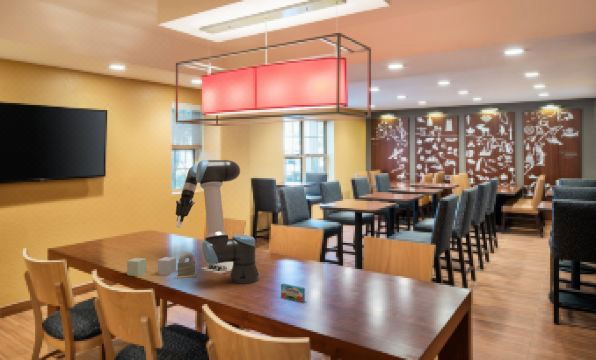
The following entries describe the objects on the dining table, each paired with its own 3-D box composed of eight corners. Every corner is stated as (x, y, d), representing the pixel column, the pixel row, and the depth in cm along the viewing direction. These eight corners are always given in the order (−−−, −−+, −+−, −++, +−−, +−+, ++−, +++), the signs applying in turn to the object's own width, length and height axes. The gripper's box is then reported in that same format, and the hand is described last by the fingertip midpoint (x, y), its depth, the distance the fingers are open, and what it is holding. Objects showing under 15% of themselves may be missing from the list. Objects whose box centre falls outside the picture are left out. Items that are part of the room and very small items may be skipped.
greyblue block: (176, 271, 229) (176, 257, 229) (168, 275, 223) (168, 261, 222) (165, 270, 231) (165, 256, 231) (157, 274, 225) (157, 260, 224)
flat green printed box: (304, 301, 183) (304, 287, 183) (302, 302, 182) (302, 288, 181) (282, 296, 190) (282, 283, 189) (280, 297, 188) (280, 284, 188)
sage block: (146, 272, 228) (146, 258, 227) (138, 276, 221) (137, 261, 221) (136, 271, 230) (135, 257, 229) (127, 275, 223) (127, 260, 223)
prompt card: (196, 276, 220) (196, 262, 219) (177, 278, 216) (176, 264, 216) (195, 274, 223) (195, 260, 223) (176, 276, 220) (176, 262, 220)
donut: (180, 271, 229) (180, 254, 229) (177, 270, 232) (177, 253, 231) (196, 268, 236) (196, 251, 236) (193, 267, 239) (193, 250, 238)
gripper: (200, 193, 258) (190, 229, 248) (183, 193, 263) (173, 228, 253) (193, 188, 252) (182, 224, 242) (176, 188, 257) (165, 224, 247)
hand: (178, 226), depth 248 cm, fingers closed
